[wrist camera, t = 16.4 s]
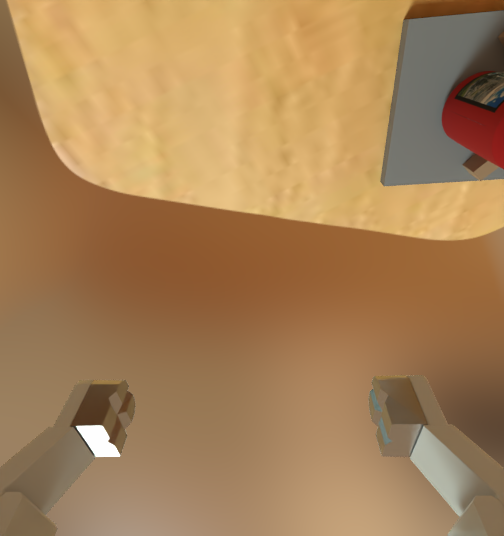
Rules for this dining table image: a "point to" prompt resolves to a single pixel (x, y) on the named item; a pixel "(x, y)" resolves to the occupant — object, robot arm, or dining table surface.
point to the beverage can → (478, 115)
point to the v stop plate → (438, 97)
